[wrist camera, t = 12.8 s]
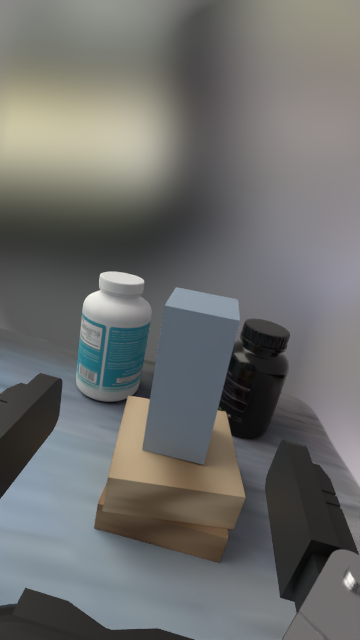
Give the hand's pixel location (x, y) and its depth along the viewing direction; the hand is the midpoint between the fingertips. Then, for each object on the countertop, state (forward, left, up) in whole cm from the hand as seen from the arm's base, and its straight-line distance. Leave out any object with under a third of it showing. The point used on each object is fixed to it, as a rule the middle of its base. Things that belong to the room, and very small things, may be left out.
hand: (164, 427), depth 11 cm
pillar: (+1, +11, -9) cm, 15 cm away
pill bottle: (-8, +23, -15) cm, 29 cm away
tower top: (+1, +11, -12) cm, 17 cm away
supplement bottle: (+8, +23, -15) cm, 29 cm away
